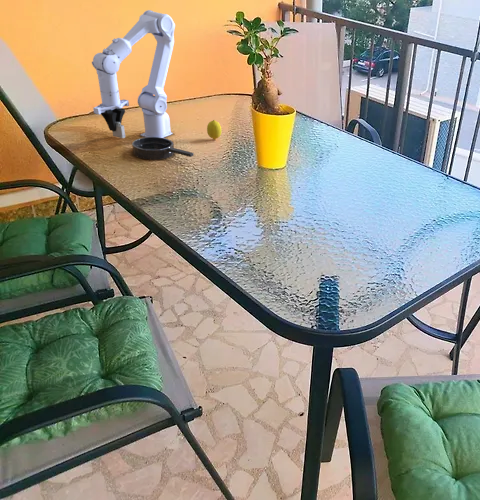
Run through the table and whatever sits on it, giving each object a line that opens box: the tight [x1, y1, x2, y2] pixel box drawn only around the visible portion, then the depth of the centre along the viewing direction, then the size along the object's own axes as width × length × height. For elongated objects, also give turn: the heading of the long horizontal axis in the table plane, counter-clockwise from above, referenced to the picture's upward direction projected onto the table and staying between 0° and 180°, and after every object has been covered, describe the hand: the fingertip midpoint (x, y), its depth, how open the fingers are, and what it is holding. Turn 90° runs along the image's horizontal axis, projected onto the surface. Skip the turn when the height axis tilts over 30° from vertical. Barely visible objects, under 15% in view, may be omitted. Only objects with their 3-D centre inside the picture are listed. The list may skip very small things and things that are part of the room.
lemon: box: [206, 119, 223, 141], centre depth 184 cm, size 6×6×8 cm
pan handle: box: [169, 147, 195, 158], centre depth 163 cm, size 2×9×1 cm, turn 71°
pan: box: [131, 137, 175, 161], centre depth 166 cm, size 14×14×4 cm
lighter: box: [111, 121, 126, 139], centre depth 165 cm, size 7×2×8 cm, turn 72°
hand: (115, 129), depth 166 cm, fingers closed on lighter, 2 cm apart
